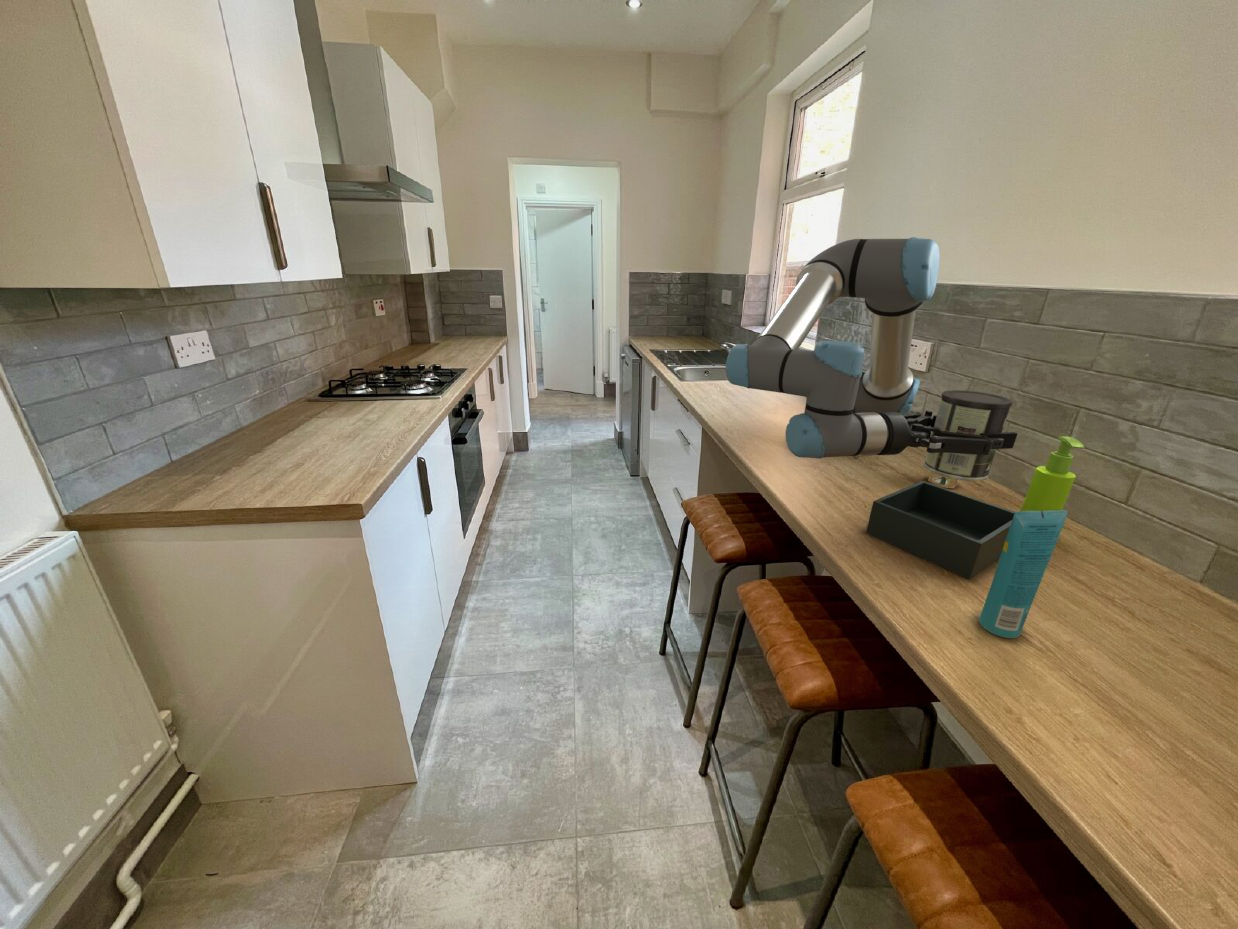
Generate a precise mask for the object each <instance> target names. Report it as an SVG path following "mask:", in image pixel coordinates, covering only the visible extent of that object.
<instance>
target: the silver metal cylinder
mask: <svg viewBox="0 0 1238 929" xmlns="http://www.w3.org/2000/svg"><path fill="white" fill-rule="evenodd" d="M927 482H928V483H930V484H933V485H936V486H939V487H942V488H945V489H955V488H956V487H957V485H958V480H957V479H952V478H948V477H944V476H941V475H938V474H935V473H933V472H931V471H930V474H929V476H928V478H927Z"/></svg>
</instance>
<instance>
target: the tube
mask: <svg viewBox="0 0 1238 929" xmlns="http://www.w3.org/2000/svg"><path fill="white" fill-rule="evenodd" d="M1014 512H1015V514H1014V517H1013V520H1012V523H1011V526H1010V529H1009V532H1008V535H1007V538H1006V541H1005V544H1004V547H1003V550H1002V553H1001V556H1000V558H999V559H998V563H997V566H996V569H995V572H994V574H993V578H992V581H991V584H990V586H989V590H988V593H987V595H986V598H985V602H984V603H983V606H982V610H981V613H980V615H979V619H978V622H979V625H980V626H981V627H982V628H983V629H984V630H986V631H988V632H989V633H991V634H993V635H995V636H998V637H1001V638H1005V639H1016V638H1018V637H1020V635H1021V632H1022V630H1023V627H1024V625H1025V623H1026V621H1027V618H1028V615H1029V612H1030V609H1031V607H1032V605H1033V602H1034V600H1035V597H1036V595H1037V593H1038V590H1039V587H1040V585H1041V583H1042V580H1043V577H1044V575H1045V573H1046V569H1047V568H1048V565H1049V562H1050V560H1051V558H1052V555H1053V552H1054V550H1055V547H1056V545H1057V543H1058V540H1059V538H1060V536H1061V532H1062V530H1063V528H1064V525H1065V522H1066V520H1067V517H1068V510H1066V509H1065V510H1064V509H1063V510H1062V511H1021V510H1020V511H1017V510H1016V511H1014Z"/></svg>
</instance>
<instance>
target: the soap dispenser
mask: <svg viewBox="0 0 1238 929" xmlns="http://www.w3.org/2000/svg"><path fill="white" fill-rule="evenodd" d="M1058 440H1059V441H1060V444H1059V445H1058V446H1059V447H1058V449H1057V450H1055V451H1051V452H1050V453H1049V457H1048V458H1047V461H1046V463H1045V464H1046V465H1039V466H1037V467H1036V468H1035V470H1034V473H1033V476H1032V478H1031V482H1030V484H1029V487H1028V490H1027V492H1026V495H1025V498H1024V500H1023V503H1022V505H1021V508H1020V511H1062V510H1064V507H1065V504H1066V502H1067V499H1068V497H1069V495H1070V492H1071V490H1072V487H1073V485H1074V483H1075V480H1076V477H1077V476H1076V474H1075V473H1074V472H1072V471H1070V469H1071V466H1072V464H1073V461H1074V459H1075V456H1074V455H1072V454H1071V451H1072V449H1080V450H1083V449H1085V445H1084V444H1083V442H1081V441H1080V440H1078V439H1077V438H1076V437H1075V438H1074V437H1072V436H1064V435H1058Z"/></svg>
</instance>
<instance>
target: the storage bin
mask: <svg viewBox="0 0 1238 929" xmlns="http://www.w3.org/2000/svg"><path fill="white" fill-rule="evenodd" d="M1015 512H1016V511H1014V510H1011V509H1008V508H1005V507H1001V506H998V505H995V504H993V503H990V502H986V501H983V500H981V499H977V498H975V497H972V496H969V495H966V494H963V493H961V492H960V493H959V492H957V491H954V490H951V489H949V488H942V487H939V486H936V485H933V484H931V483H929V482H928V481H925V480H920V481H918V482H915V483H913V484H911V485H908V486H906V487H903V488H901V489H899V490H896V491H894V492H892V493H889V494H886V495H885V496H883V497H880V498H877V499H875V500H873V502H872V505H871V509H870V514H869V518H868V522H867V526H866V531H865V533H866V534H868V535H870V536H872V537H875V538H877V539H879V540H882V541H884V542H885V543H888V544H890V545H892V546H894V547H897V548H899V549H902V550H903V551H906V552H907V553H909V554H912V555H914V556H916V557H919V558H920V559H923V560H925V561H927V562H929V563H932V564H934V565H936V566H939V567H941V568H943V569H945V570H947V571H950V572H952V573H953V574H956V575H958V576H960V577H962V578H965V579H967V580H971V579H972V578H973V577H975V576H976V575H978V574H980V572H982V571H984V570H985V569H987V568H988V567H989V566H990V565H992V564H994V563H995V562H996V561H999V559H1000V556H1001V553H1002V550H1003V547H1004V544H1005V541H1006V538H1007V535H1008V532H1009V529H1010V526H1011V523H1012V520H1013V517H1014V514H1015Z"/></svg>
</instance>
